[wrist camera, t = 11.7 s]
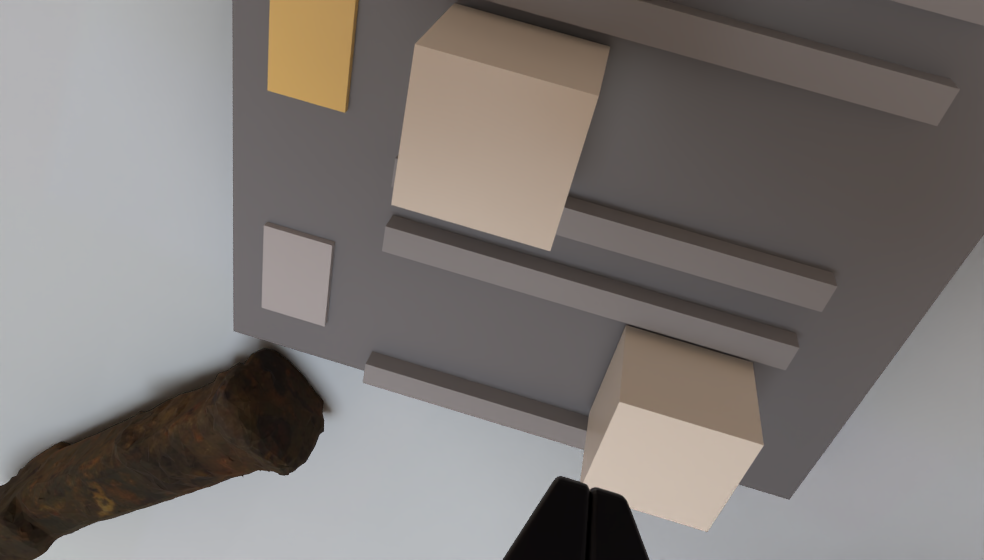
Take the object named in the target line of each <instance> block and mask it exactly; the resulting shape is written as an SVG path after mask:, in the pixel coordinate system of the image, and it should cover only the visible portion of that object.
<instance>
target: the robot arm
mask: <svg viewBox="0 0 984 560" xmlns="http://www.w3.org/2000/svg"><path fill="white" fill-rule="evenodd" d="M503 560H649V557H648V555H647V552H646V549H645V547H644V544H643V541H642V539H641V536H640V533H639V531H638V528H637V526H636V523H635V520H634V518H633V515H632V512H631V510H630V507H629V504H628V502H627V500H626V499H625V498H624V497H623V496H622V495H620V494H618V493H614V492H611V491H608V490H605V489H601V488H598V487H593V488H591V489H589V487H588V485H587V484H585V483H582V482H579V481H575V480H572V479H569V478H566V477H563V476H559V477H557V478H555V480H554V481H553V482H552V484H551V486H550V487H549V489H548V490H547V492H546V493H545V495H544V496H543V498H542V499H541V501H540V503H539V504H538V506H537V507H536V509H535V510H534V512H533V513H532V515H531V516H530V518H529V520H528V521H527V523H526V524H525V526H524V527H523V529H522V530H521V532H520V534H519V535H518V537H517V538H516V540H515V541H514V543H513V544H512V546H511V547H510V549H509V551H508V552H507V554H506V555H505V557H504V558H503Z"/></svg>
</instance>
